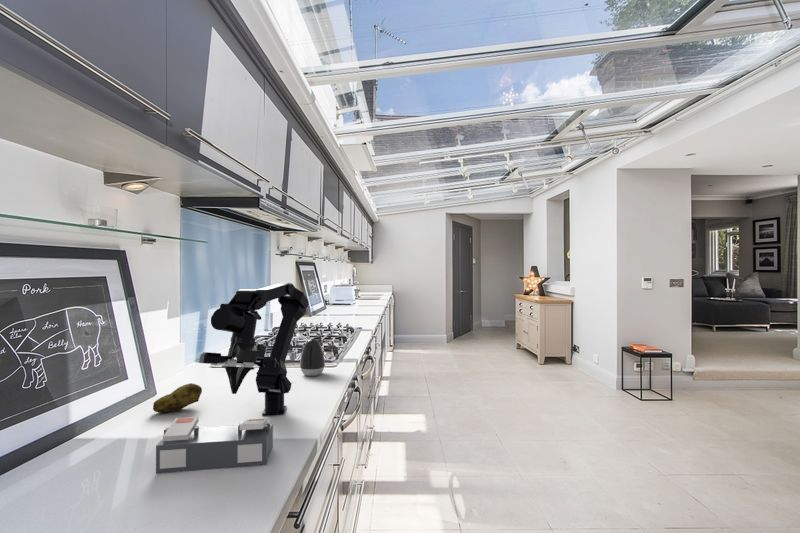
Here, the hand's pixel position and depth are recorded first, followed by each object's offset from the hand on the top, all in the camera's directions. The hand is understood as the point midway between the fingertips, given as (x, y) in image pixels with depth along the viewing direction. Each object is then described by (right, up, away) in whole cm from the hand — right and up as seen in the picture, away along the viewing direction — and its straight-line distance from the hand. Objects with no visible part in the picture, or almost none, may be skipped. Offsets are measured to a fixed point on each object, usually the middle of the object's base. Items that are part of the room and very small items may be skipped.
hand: (233, 393), depth 104 cm
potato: (-26, -12, +20) cm, 34 cm away
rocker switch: (+10, -4, -11) cm, 15 cm away
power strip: (+2, -11, -12) cm, 17 cm away
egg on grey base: (+7, -12, +61) cm, 63 cm away
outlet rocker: (-6, -4, -14) cm, 16 cm away
